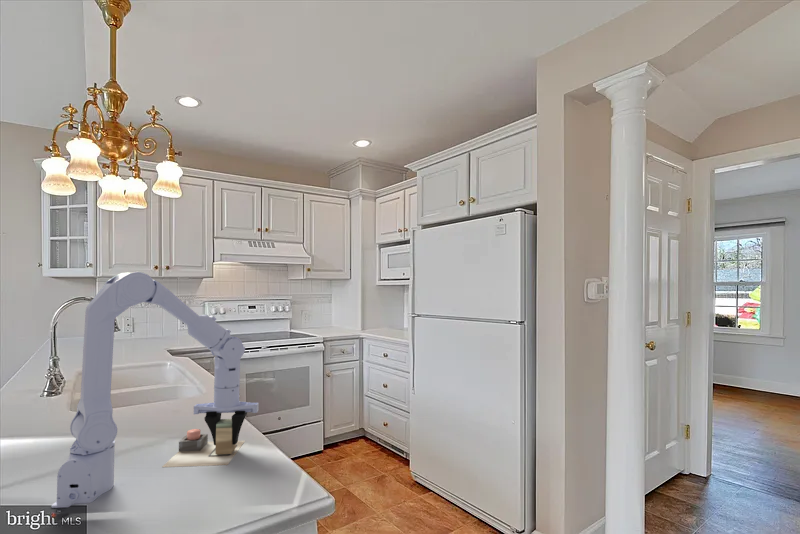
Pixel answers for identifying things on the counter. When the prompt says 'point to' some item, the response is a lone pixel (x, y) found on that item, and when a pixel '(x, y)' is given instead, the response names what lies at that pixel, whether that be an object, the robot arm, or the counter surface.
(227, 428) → the green topped wooden block
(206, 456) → the brown framed board
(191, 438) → the button
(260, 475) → the counter surface
